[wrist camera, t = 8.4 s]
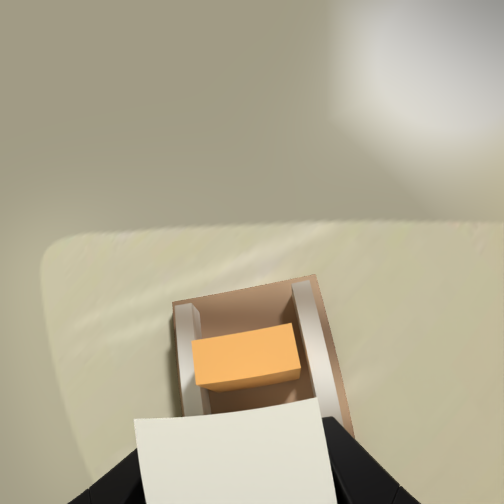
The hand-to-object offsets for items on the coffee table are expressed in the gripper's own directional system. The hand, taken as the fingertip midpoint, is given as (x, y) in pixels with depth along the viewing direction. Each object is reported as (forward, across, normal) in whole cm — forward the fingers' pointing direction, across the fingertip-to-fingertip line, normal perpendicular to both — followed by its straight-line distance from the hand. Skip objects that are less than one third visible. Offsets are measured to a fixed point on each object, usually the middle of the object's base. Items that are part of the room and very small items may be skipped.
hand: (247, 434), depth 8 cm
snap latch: (+8, 0, +3) cm, 8 cm away
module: (+4, 0, +6) cm, 7 cm away
